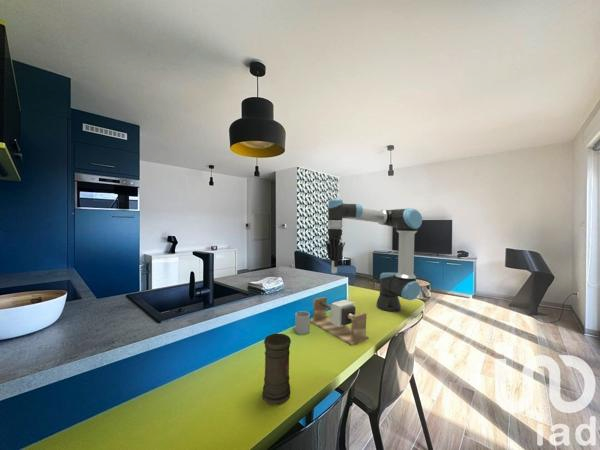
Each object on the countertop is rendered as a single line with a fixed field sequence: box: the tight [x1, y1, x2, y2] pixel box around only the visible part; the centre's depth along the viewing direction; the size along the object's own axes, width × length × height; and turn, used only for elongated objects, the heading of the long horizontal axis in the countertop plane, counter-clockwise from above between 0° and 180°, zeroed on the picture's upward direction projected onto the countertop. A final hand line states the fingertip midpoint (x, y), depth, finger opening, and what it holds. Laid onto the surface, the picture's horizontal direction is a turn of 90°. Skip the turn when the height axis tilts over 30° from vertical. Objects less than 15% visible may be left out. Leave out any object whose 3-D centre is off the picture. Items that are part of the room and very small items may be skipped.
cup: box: [294, 310, 311, 335], centre depth 124 cm, size 7×10×9 cm
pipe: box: [320, 301, 353, 320], centre depth 125 cm, size 28×3×3 cm, turn 36°
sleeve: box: [330, 299, 355, 327], centre depth 122 cm, size 6×10×10 cm, turn 126°
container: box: [262, 333, 292, 406], centre depth 77 cm, size 9×9×18 cm
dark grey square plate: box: [341, 305, 356, 326], centre depth 119 cm, size 2×8×8 cm, turn 126°
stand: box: [310, 296, 369, 346], centre depth 125 cm, size 30×12×12 cm, turn 36°
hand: (334, 272), depth 129 cm, fingers closed
